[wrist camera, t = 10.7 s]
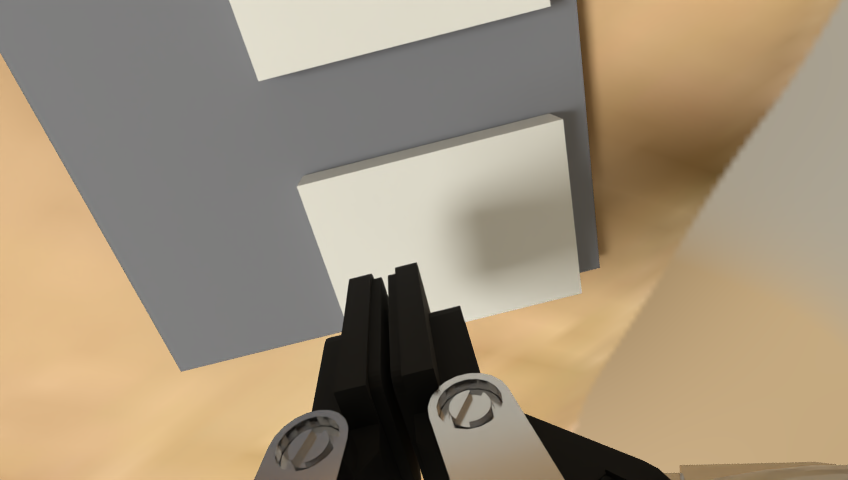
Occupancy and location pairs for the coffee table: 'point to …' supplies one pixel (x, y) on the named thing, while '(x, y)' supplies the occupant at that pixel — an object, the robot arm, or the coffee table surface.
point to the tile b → (456, 218)
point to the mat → (262, 146)
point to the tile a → (353, 27)
